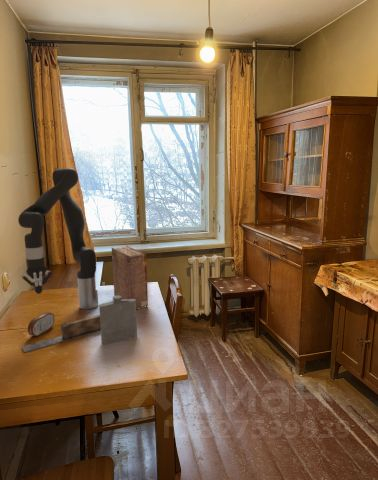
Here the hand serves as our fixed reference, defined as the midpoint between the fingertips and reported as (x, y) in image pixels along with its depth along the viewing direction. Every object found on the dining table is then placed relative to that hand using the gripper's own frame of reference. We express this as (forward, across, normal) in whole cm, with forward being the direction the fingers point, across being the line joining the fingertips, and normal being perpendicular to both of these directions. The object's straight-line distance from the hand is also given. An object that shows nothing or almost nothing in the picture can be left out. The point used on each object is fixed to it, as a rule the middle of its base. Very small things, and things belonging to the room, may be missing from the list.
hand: (38, 293), depth 161 cm
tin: (+19, 0, 0) cm, 19 cm away
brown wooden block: (+19, -15, +13) cm, 28 cm away
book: (+19, -50, -9) cm, 54 cm away
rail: (+19, -7, +13) cm, 24 cm away
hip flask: (+19, -26, +28) cm, 43 cm away
